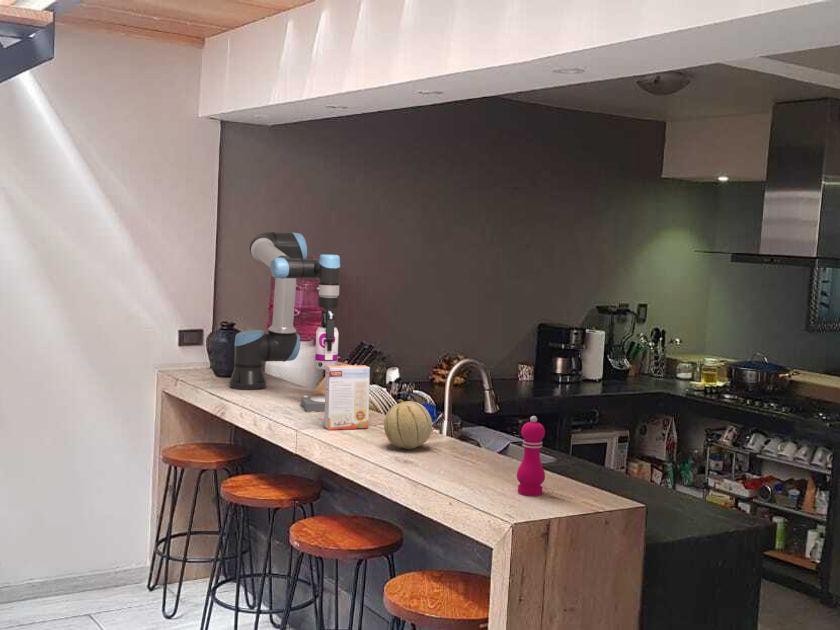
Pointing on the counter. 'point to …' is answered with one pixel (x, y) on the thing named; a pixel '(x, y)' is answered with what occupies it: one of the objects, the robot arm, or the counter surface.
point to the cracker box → (346, 397)
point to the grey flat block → (313, 403)
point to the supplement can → (320, 349)
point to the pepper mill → (531, 459)
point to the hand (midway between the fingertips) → (326, 358)
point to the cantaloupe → (407, 424)
